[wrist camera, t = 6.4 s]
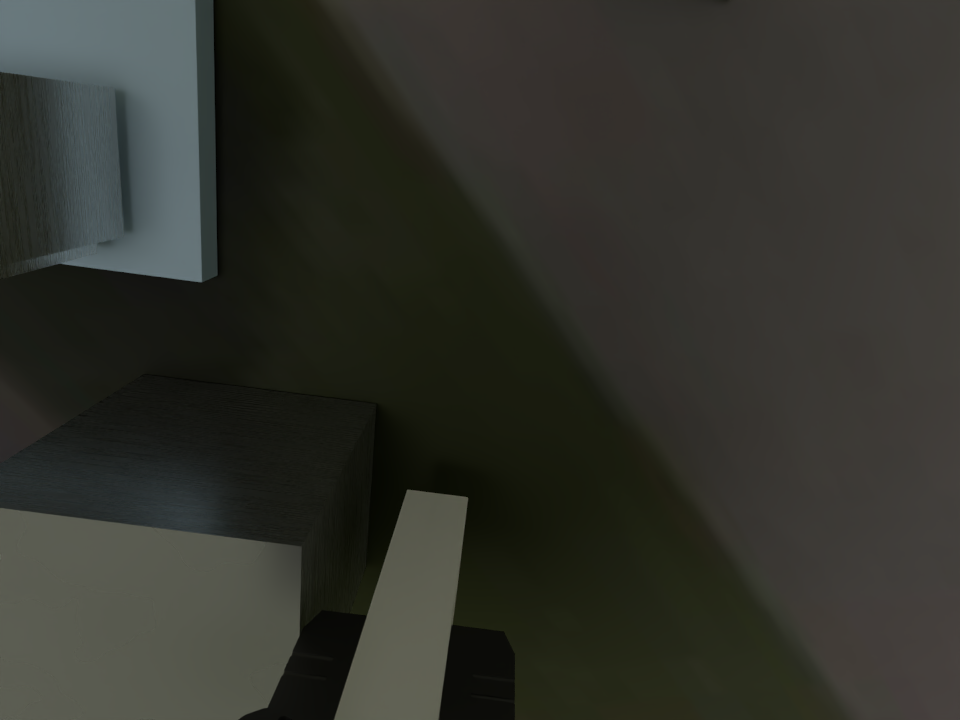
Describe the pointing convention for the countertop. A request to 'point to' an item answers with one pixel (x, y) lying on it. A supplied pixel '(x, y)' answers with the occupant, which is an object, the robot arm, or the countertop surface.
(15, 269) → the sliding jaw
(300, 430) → the steel block
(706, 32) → the countertop surface
